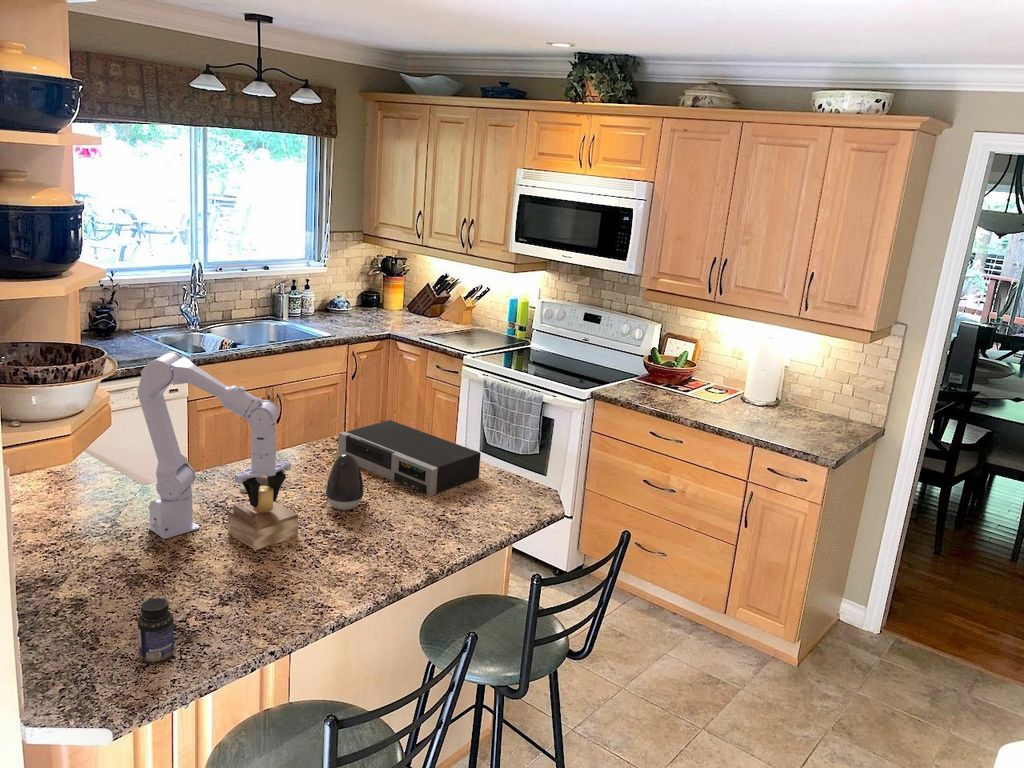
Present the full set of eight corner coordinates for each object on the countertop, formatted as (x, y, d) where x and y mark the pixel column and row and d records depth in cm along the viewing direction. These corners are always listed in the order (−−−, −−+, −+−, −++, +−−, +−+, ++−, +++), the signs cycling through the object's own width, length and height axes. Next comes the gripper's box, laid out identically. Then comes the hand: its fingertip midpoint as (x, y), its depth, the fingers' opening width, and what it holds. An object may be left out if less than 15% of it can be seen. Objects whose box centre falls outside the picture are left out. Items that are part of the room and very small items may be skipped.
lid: (255, 530, 198) (255, 518, 198) (228, 514, 206) (228, 502, 205) (298, 517, 207) (298, 505, 206) (270, 501, 215) (270, 490, 214)
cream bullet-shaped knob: (259, 514, 203) (259, 495, 201) (249, 507, 206) (249, 488, 205) (277, 509, 206) (277, 490, 205) (266, 502, 209) (266, 484, 208)
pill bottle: (181, 651, 159) (180, 600, 156) (158, 669, 153) (156, 616, 150) (155, 643, 161) (153, 592, 158) (131, 660, 155) (129, 607, 152)
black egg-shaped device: (321, 513, 223) (323, 460, 218) (328, 497, 233) (330, 446, 228) (360, 515, 223) (362, 462, 219) (365, 500, 233) (367, 449, 229)
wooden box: (255, 550, 200) (255, 531, 198) (228, 532, 207) (228, 514, 206) (297, 536, 209) (297, 517, 207) (270, 519, 216) (270, 502, 215)
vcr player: (478, 479, 256) (481, 452, 254) (422, 501, 237) (424, 472, 235) (388, 444, 279) (389, 419, 277) (330, 461, 260) (330, 434, 258)
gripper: (246, 462, 194) (246, 516, 198) (298, 449, 205) (297, 500, 209) (229, 454, 198) (229, 506, 202) (281, 441, 209) (281, 492, 213)
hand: (263, 503), depth 206 cm, fingers closed on cream bullet-shaped knob, 5 cm apart
